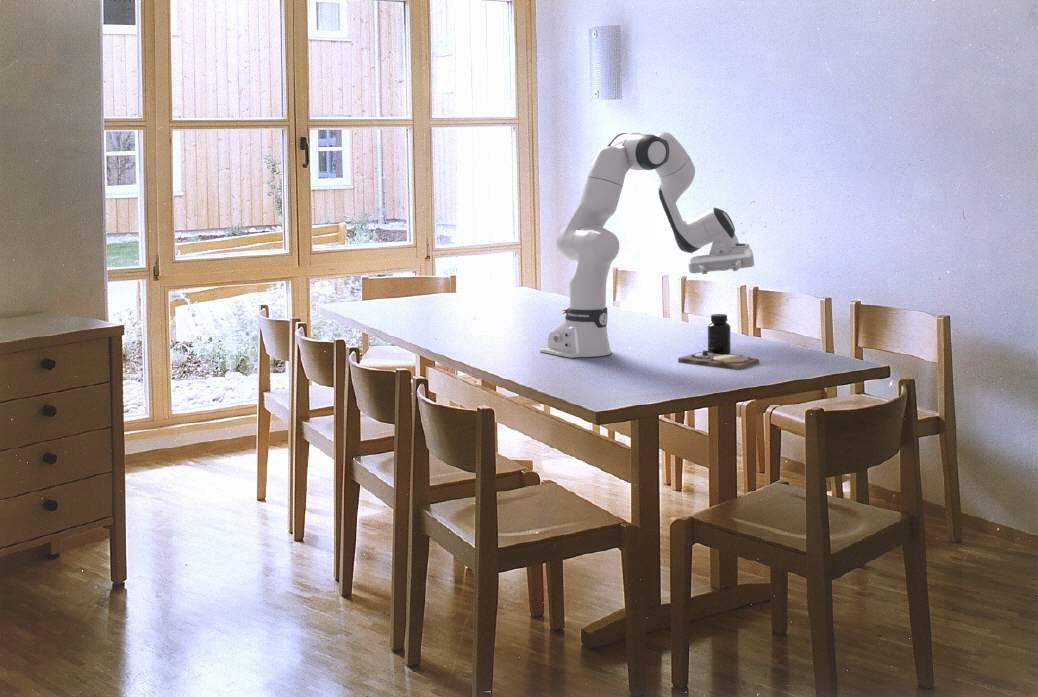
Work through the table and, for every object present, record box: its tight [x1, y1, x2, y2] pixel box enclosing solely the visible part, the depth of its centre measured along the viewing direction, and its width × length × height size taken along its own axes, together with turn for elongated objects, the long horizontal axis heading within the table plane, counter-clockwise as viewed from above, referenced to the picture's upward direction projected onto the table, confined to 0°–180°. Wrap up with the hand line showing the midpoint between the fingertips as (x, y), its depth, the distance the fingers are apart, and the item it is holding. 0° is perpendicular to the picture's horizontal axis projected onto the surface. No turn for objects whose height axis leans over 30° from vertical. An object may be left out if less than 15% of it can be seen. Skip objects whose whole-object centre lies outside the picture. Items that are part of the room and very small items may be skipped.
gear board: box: [677, 349, 760, 371], centre depth 354 cm, size 20×12×3 cm, turn 50°
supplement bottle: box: [707, 313, 732, 355], centre depth 367 cm, size 7×7×12 cm
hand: (719, 270), depth 373 cm, fingers open, 8 cm apart
